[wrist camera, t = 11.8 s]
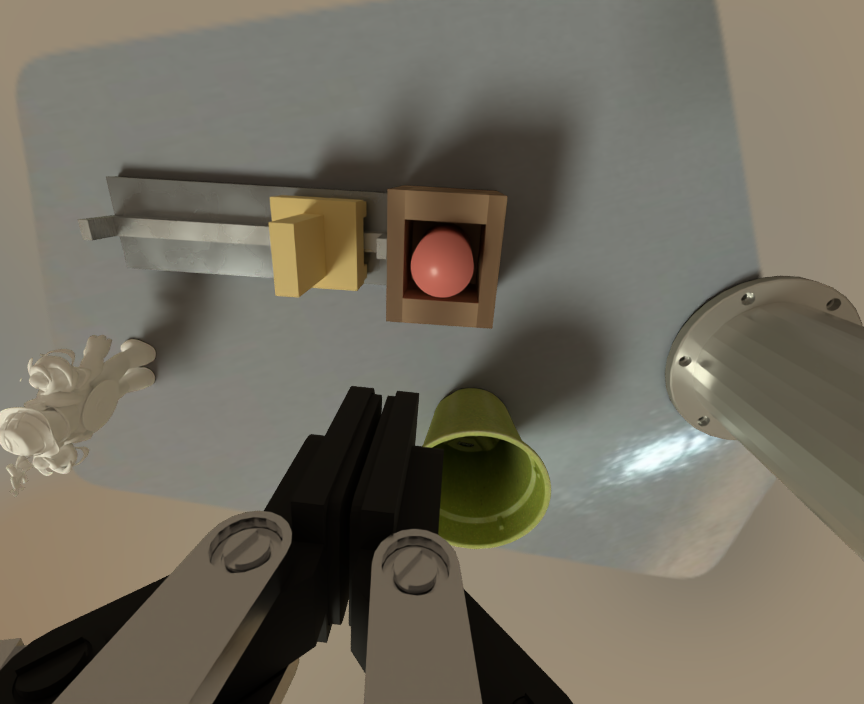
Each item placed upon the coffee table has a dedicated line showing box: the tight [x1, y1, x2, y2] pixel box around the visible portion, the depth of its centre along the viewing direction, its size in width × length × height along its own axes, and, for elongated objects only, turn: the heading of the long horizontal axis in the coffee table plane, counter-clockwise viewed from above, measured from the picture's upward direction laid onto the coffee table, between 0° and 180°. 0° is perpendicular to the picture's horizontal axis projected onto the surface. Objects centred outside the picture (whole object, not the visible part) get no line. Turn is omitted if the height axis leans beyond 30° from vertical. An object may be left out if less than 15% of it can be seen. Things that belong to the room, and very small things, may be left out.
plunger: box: [411, 223, 474, 297], centre depth 24 cm, size 3×3×5 cm
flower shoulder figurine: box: [0, 335, 156, 497], centre depth 28 cm, size 9×4×12 cm, turn 160°
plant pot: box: [422, 388, 551, 549], centre depth 30 cm, size 9×9×9 cm
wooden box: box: [386, 185, 508, 329], centre depth 25 cm, size 6×7×7 cm
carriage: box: [269, 195, 367, 297], centre depth 24 cm, size 5×5×8 cm
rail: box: [78, 176, 388, 285], centre depth 27 cm, size 19×6×4 cm, turn 87°
